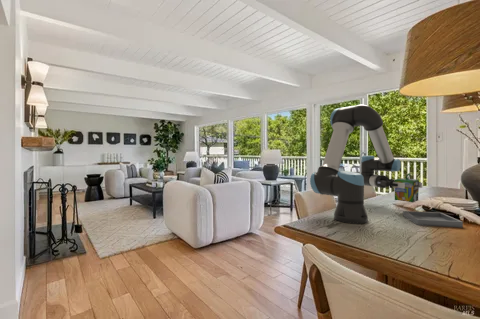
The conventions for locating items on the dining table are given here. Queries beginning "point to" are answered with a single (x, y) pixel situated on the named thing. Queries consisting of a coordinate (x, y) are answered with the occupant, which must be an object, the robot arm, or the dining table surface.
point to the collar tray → (432, 219)
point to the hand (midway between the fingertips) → (413, 185)
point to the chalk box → (407, 189)
